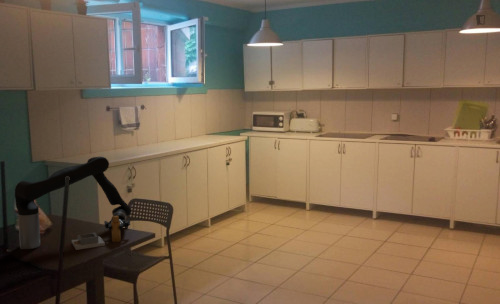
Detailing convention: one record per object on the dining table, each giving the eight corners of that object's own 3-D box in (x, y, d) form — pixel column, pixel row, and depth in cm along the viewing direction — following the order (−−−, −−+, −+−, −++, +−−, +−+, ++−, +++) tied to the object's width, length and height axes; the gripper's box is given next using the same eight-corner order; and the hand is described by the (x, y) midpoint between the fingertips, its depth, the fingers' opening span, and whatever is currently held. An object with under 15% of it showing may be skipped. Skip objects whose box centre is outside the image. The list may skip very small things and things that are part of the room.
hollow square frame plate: (76, 249, 232) (75, 241, 232) (71, 243, 243) (71, 234, 242) (105, 245, 239) (104, 236, 239) (99, 238, 250) (99, 230, 249)
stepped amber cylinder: (113, 242, 244) (112, 218, 242) (111, 240, 248) (110, 216, 246) (121, 241, 246) (120, 216, 244) (119, 238, 250) (118, 215, 248)
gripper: (105, 213, 258) (100, 221, 242) (131, 212, 261) (129, 220, 244) (105, 226, 259) (101, 235, 243) (132, 225, 262) (129, 234, 245)
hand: (115, 228), depth 243 cm, fingers closed on stepped amber cylinder, 4 cm apart
